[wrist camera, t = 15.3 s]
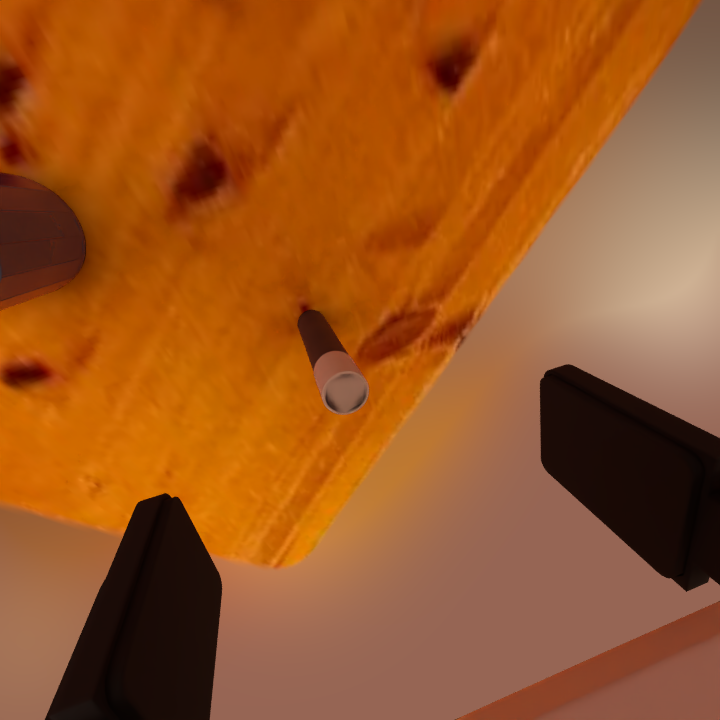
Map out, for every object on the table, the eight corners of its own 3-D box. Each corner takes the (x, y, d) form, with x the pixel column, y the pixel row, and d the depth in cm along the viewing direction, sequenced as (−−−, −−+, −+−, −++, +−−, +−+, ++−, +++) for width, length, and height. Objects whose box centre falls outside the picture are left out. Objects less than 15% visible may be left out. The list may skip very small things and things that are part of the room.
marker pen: (322, 306, 30) (364, 365, 18) (329, 333, 31) (373, 407, 19) (293, 313, 29) (316, 378, 18) (301, 341, 30) (328, 420, 18)
